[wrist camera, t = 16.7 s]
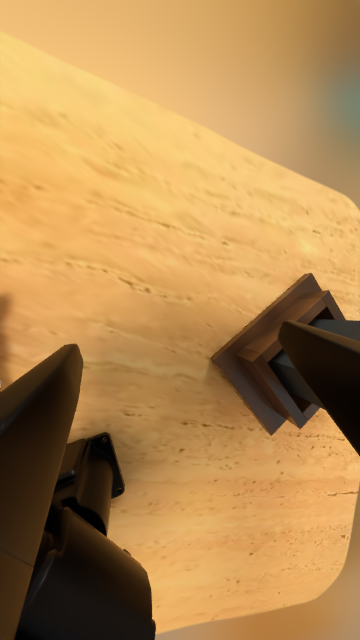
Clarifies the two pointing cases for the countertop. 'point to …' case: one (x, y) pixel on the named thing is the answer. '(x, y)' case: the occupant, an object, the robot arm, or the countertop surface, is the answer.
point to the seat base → (262, 345)
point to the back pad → (287, 370)
